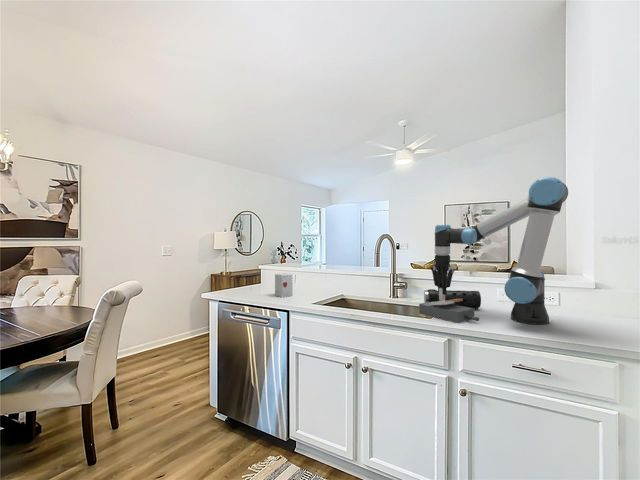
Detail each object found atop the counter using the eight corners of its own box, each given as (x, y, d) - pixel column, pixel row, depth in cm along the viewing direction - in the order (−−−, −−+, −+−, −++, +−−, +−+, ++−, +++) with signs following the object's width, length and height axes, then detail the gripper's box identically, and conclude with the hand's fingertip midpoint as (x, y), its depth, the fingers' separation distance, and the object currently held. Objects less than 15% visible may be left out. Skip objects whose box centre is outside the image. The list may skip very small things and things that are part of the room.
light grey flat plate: (454, 303, 156) (453, 300, 157) (446, 304, 153) (445, 301, 153) (437, 303, 165) (436, 301, 165) (429, 305, 161) (428, 302, 162)
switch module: (486, 321, 150) (486, 309, 150) (469, 326, 143) (469, 313, 143) (435, 310, 174) (435, 299, 174) (419, 313, 167) (419, 302, 167)
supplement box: (281, 297, 214) (281, 275, 214) (274, 295, 221) (274, 274, 221) (293, 296, 220) (292, 274, 220) (285, 294, 227) (285, 272, 227)
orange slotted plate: (462, 300, 160) (462, 297, 160) (455, 302, 157) (454, 299, 157) (445, 302, 168) (445, 300, 169) (438, 304, 165) (437, 301, 165)
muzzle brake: (481, 311, 170) (481, 292, 170) (425, 309, 176) (425, 290, 176) (476, 307, 179) (476, 289, 179) (423, 306, 185) (423, 288, 185)
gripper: (458, 255, 162) (457, 301, 163) (436, 253, 174) (436, 297, 174) (449, 255, 158) (448, 303, 159) (427, 254, 170) (426, 299, 170)
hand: (442, 300), depth 167 cm, fingers closed
